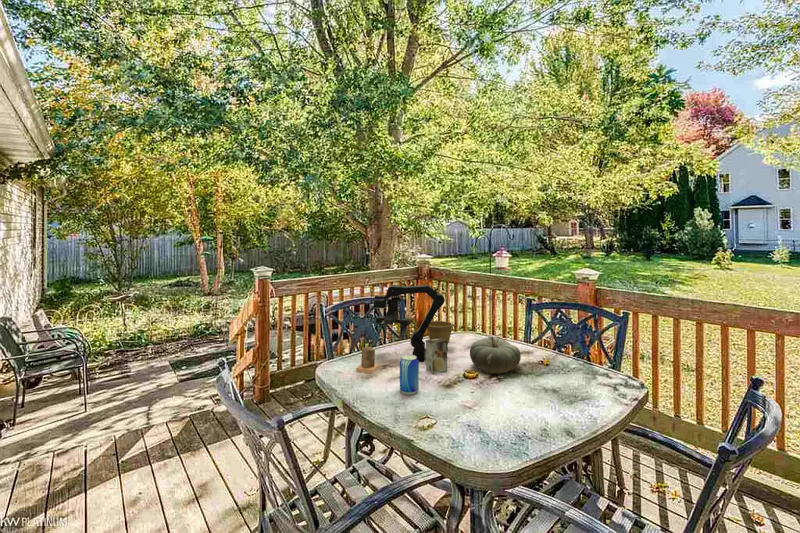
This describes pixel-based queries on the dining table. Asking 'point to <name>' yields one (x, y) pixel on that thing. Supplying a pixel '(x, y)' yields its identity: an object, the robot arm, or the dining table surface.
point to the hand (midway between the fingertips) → (393, 336)
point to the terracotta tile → (367, 369)
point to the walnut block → (368, 357)
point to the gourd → (495, 355)
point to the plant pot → (440, 330)
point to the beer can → (409, 374)
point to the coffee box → (436, 355)
